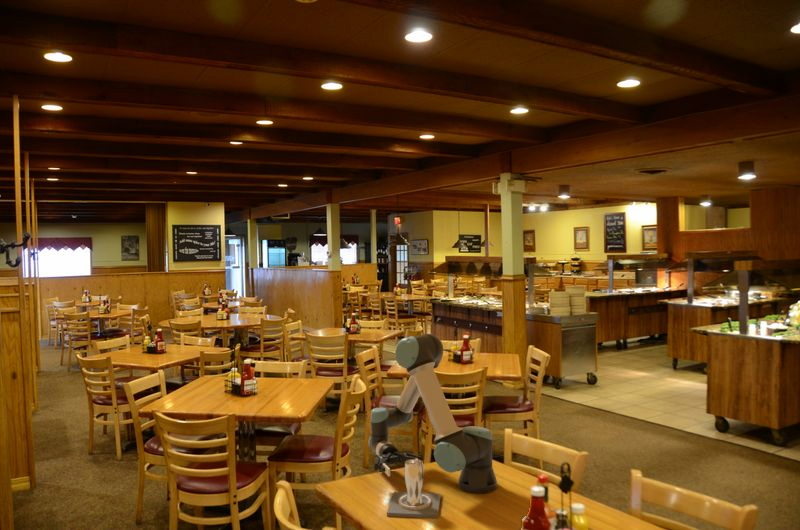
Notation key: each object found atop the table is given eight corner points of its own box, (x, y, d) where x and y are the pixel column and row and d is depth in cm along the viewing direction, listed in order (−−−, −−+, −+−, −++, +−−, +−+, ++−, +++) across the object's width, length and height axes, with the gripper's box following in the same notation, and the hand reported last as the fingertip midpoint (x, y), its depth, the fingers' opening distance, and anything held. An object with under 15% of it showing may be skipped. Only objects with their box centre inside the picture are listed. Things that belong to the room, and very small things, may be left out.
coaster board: (440, 497, 223) (440, 491, 223) (437, 518, 205) (437, 512, 205) (393, 495, 225) (393, 489, 225) (386, 516, 207) (386, 509, 207)
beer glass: (422, 507, 211) (421, 466, 211) (403, 506, 213) (402, 465, 212) (425, 499, 218) (424, 459, 218) (406, 498, 219) (406, 458, 219)
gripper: (415, 457, 247) (436, 475, 227) (358, 465, 238) (375, 484, 218) (415, 439, 247) (435, 455, 227) (358, 447, 238) (374, 464, 218)
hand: (406, 470), depth 223 cm, fingers open, 13 cm apart
